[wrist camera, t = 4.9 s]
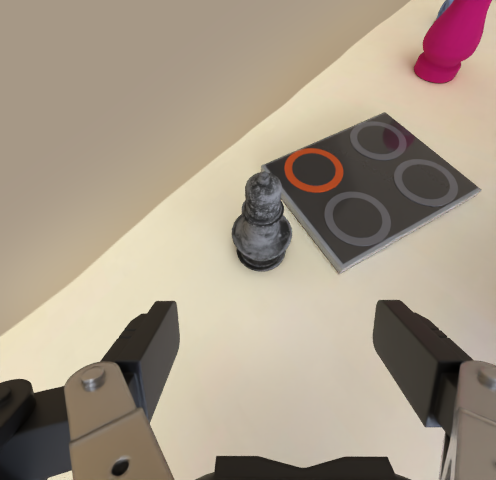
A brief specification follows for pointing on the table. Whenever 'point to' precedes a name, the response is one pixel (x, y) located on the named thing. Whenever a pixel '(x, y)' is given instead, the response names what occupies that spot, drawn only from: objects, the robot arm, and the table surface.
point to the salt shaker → (262, 224)
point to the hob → (367, 188)
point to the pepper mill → (451, 40)
